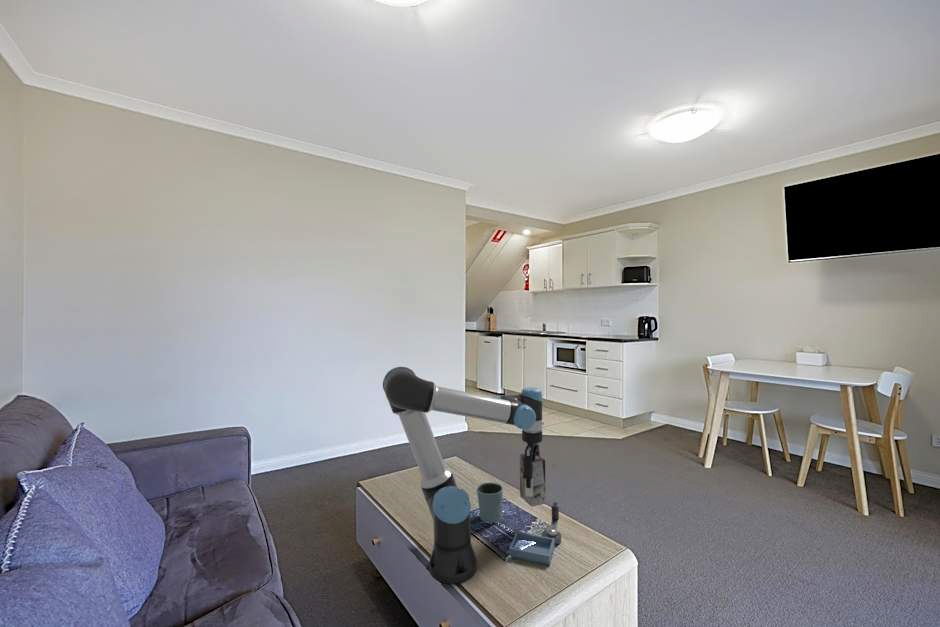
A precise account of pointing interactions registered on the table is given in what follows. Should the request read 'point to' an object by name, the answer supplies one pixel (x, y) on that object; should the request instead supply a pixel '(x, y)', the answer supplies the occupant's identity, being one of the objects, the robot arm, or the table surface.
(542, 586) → the table surface
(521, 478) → the coffee box
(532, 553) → the tray
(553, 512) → the crank
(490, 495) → the green cup
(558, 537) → the crank base
